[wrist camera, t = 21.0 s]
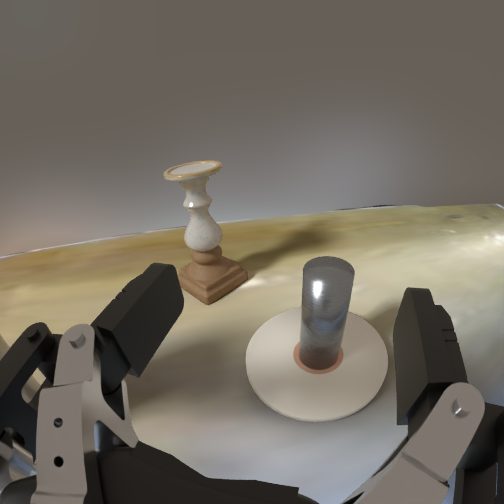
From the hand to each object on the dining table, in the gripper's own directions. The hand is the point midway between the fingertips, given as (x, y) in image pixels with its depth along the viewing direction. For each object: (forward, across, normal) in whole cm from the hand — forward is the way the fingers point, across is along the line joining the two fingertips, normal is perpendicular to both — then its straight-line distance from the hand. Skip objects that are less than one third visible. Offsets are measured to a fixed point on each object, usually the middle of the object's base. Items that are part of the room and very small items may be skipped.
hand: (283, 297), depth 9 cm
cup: (+18, -1, +25) cm, 31 cm away
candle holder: (+35, +22, +28) cm, 50 cm away
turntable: (+18, -1, +26) cm, 32 cm away
